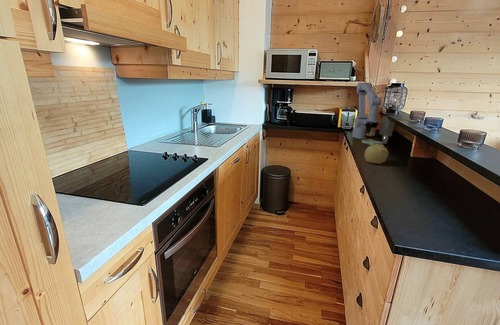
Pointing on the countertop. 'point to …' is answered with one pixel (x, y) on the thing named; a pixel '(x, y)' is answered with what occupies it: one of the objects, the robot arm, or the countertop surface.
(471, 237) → the countertop surface
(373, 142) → the parts tray
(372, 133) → the oak block
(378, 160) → the pale yellow round ball
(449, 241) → the countertop surface
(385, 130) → the skincare box
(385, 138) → the metal peg
